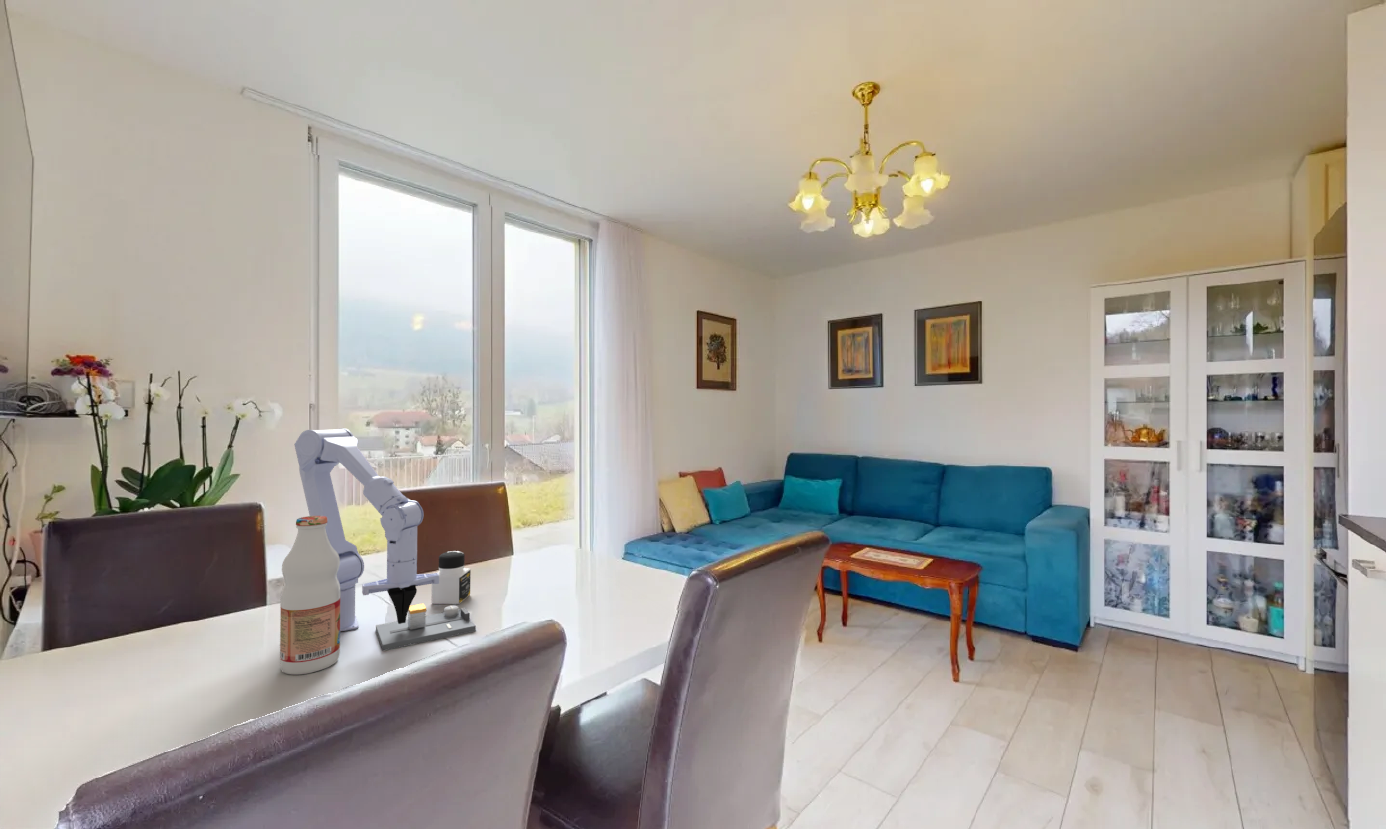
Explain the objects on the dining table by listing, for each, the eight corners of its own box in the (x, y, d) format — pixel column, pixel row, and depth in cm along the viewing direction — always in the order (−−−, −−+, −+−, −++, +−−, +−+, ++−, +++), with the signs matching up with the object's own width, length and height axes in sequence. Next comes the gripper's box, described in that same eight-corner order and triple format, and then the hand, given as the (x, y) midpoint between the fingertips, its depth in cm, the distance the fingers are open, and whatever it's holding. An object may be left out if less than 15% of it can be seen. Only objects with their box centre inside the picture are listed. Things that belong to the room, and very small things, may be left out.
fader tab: (409, 630, 118) (410, 611, 118) (407, 624, 121) (407, 606, 121) (426, 627, 120) (426, 608, 120) (423, 621, 123) (423, 603, 123)
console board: (382, 650, 112) (383, 636, 112) (375, 630, 122) (376, 617, 121) (475, 631, 122) (475, 617, 122) (462, 614, 132) (462, 601, 132)
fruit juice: (266, 671, 102) (268, 520, 102) (314, 650, 111) (315, 511, 111) (306, 679, 100) (308, 524, 99) (351, 656, 109) (353, 515, 108)
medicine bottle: (459, 604, 138) (460, 556, 138) (430, 604, 138) (431, 556, 138) (470, 595, 145) (471, 549, 145) (443, 594, 145) (443, 549, 145)
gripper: (364, 568, 111) (364, 635, 112) (442, 558, 120) (441, 620, 120) (361, 560, 117) (360, 624, 117) (435, 551, 126) (435, 610, 126)
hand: (401, 621), depth 119 cm, fingers closed
